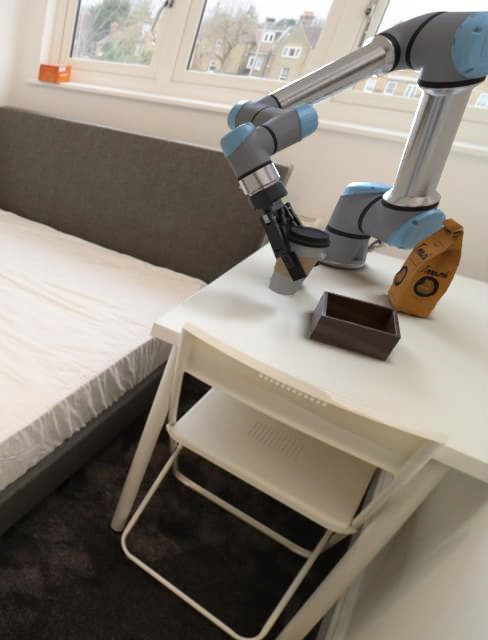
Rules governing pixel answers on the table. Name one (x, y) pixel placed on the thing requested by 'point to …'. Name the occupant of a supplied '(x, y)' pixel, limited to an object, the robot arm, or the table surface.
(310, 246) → the coffee cup
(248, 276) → the table surface
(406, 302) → the coffee package
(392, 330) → the crate
